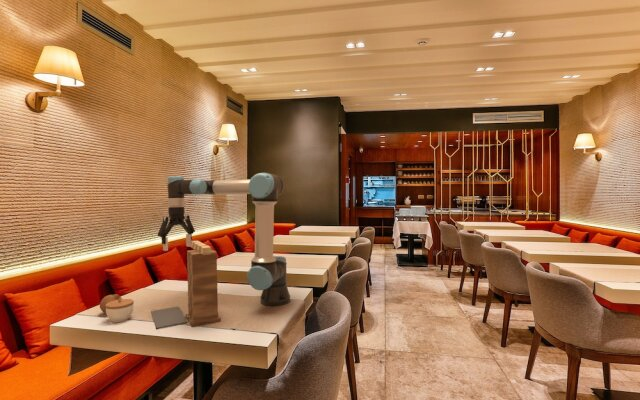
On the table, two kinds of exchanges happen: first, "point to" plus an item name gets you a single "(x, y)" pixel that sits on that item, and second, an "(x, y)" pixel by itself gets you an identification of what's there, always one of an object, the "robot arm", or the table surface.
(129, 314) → the lidded jar
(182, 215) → the robot arm
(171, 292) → the table surface
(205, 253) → the maple bar
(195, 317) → the walnut pedestal
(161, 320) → the rubber mat
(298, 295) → the table surface
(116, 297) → the onion
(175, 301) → the table surface
